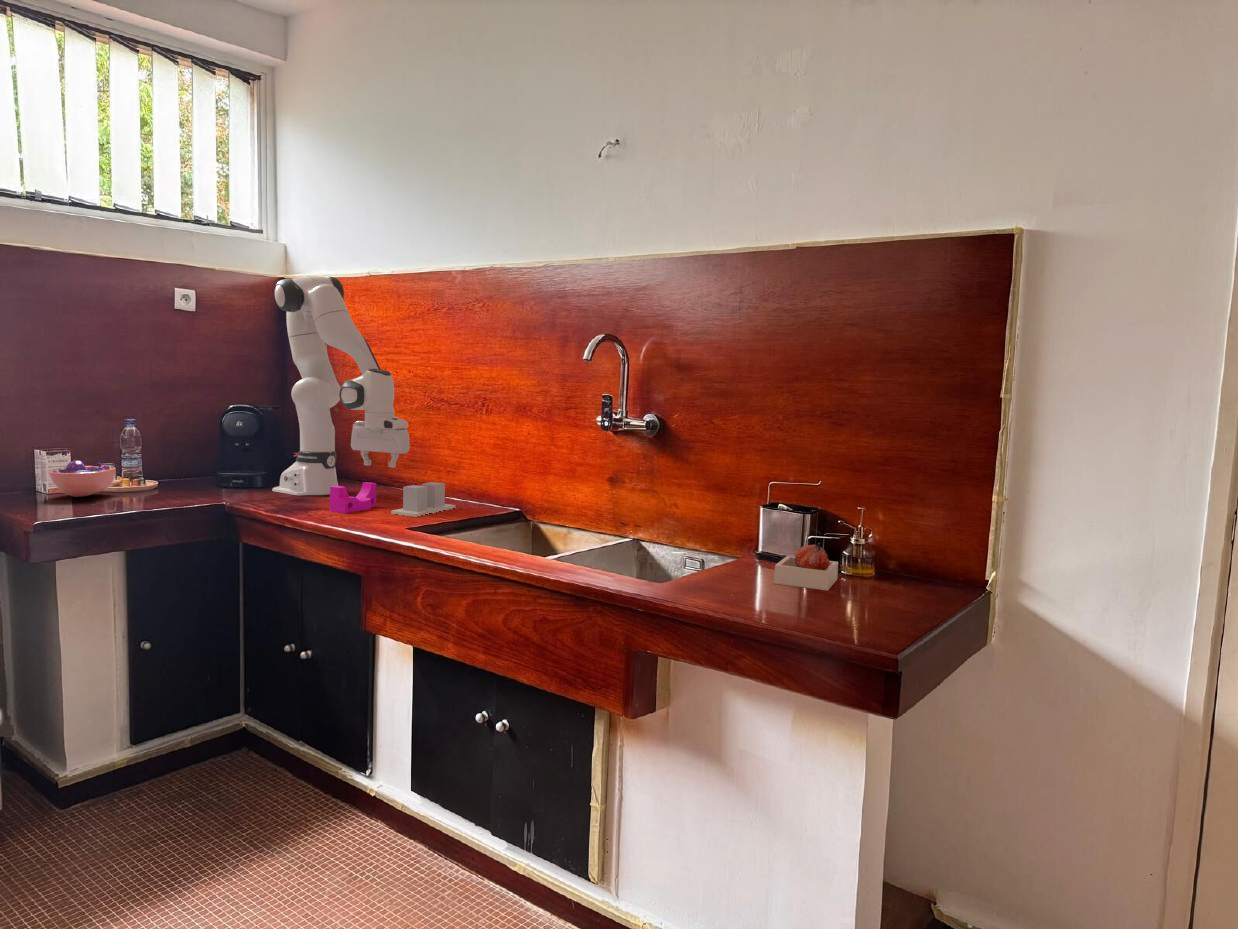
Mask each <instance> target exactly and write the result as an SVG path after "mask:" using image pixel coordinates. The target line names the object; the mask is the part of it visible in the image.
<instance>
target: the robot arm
mask: <svg viewBox="0 0 1238 929" xmlns="http://www.w3.org/2000/svg"><path fill="white" fill-rule="evenodd" d="M343 286H344V285H343V284H342V282H341V281H340V280H339V279H338V278H336V277H333V276H329V275H325V276H315V275H311V276H310V275H309V276H302V277H294V278H290V277H288V278H284V279H281V280H278V281H277V283H276V284H275V286H274V291H273V292H274V294H273V295H274V301H275V303H276V305H277V307H278V308H279V309H280V310H281V311H284V312H286V317H285V318H286V328H287V330H286V331H287V336H288V340H289V341H288V342H289V345H290V346H289V347H290V351H291V355H292V361H293V363H294V365H295V366H296V368H297V370H298V371H299V374H300V376H301V379H299V380H298V381H297V382H296V383H294V385H293V386H292V389H291V394H290V395H291V399H292V401H293V403H294V405H295V410H296V413H297V417H298V418H297V419H298V423H299V424H298V425H299V451H298V452H294V453H293V454H295V455H293V457H296V458H295V462H293V463H292V465H290V466H289V467H288V468H287V469H285V470H284V471H282V473H281V475H280V478H279V486H275V487H272V490H271V491H272V492H276V493H281V494H287V495H291V496H325V495H330V487H332V486H339V483H338V479H337V478H338V476H337V470H336V462H337V451H336V441H335V440H336V437H335V436H336V430H335V429H336V428H335V425H334V424H333V420H332V416H331V410H330V409H332V408H334V406H336V405H337V404H338V403H339V402H341V403H340V404H342V406H343V407H344V408H346V409H347V410H351V411H364V420H357V421H355V422H354V423H353V424H352V430H351V439H350V447H351V449H352V451H359V452H360V456H361V458H362V459H363V465H364V466H368V467H369V466H371V465H372V459H370V456H369V454H370V453H369V452H373V453H376V452H377V453H387V454H390V457H391V460H390V461H388V462H387V463H388V468H394V469H395V468H396V467H397V466H396V465H397V460H398V459H399V457H400V454H401V455H402V454H407V453H408V452H409V451H410V444H411V443H410V433H409V431H408V428H409V422H408V421H407V420H404V419H402V418H399V417H397V416H395V408H394V400H395V382H394V378H393V375H392V373H391V372H390V371H388V370H385V369H381V366H380V364H379V362H378V361H377V358H376V356H375V354H374V353H373V351H372V348H371V347H370V345H369V343H368V340H366V338H365V337H364V336H363V335H362V334H361V332H360V331H359V330H358V328H357V326H356V325H355V324H354V322H353V319H352V317H351V315H350V312H349V309H348V307H347V304H346V303H345V300H344V299H345V289H344V287H343ZM327 345H328V346H329V347H332V348H334V349H337V350H340V351H341V352H344V353H346V354H347V355H349V356H350V357H351V358H352V359H353V360H354V361H355V363H356V365H357V366H358V369H359V371H360V373H361V375H359V376H358V377H354V378H352V379H349V380H345V381H344V382H343V383H342V384H341V386H340V384H339V382H338V380H337V377H336V375H335V372H334V369H333V366H332V364H331V362H330V359H329V356H328V355H329V354H328V349H327Z"/></svg>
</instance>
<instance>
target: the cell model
mask: <svg viewBox="0 0 1238 929" xmlns="http://www.w3.org/2000/svg"><path fill="white" fill-rule="evenodd" d="M97 465H98V466H97ZM97 465H96V466H95V465H85V464H84V463H83V462H82V461H81V460H76V459H75V460H72V461H70V462H68V463H67V465H66V466H63V467H58V468H54V469H51V470H48V476H49V478H50V479H51V482H52V484H54V486H55V487H56V488H57V489H58V490H59V491H60V492H62V493H64V494H66V495H68V496H70V497H76V498H78V497H88V496H91V495H95V494H96V493H100V492H103V491H105V490H106V489H108V488H110V487H112V485H113V483H114V481H115V478H116V467H113V466H109V465H107V464H103V463H102V462H98V464H97Z"/></svg>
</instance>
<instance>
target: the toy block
mask: <svg viewBox="0 0 1238 929" xmlns="http://www.w3.org/2000/svg"><path fill="white" fill-rule="evenodd" d="M347 490H348V489H347V486H342V485H338V486H332V487H330V494H329V512H330V511H331V513H341V514H349V513H354V512H361V510H362V511H368V510H372V508H374V507H375V506H376V507H377V483H376V482H368V481H364V482H362V485H361V489H360V491H359V492H358V493H357V495H356V496H350V495H349V494H348V491H347ZM376 507H375V508H376Z"/></svg>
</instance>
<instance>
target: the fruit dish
mask: <svg viewBox="0 0 1238 929" xmlns="http://www.w3.org/2000/svg"><path fill="white" fill-rule="evenodd" d="M838 572H839V561H833V560H829V567H828V568H827V569H826V570H817V569H809V568H801V567H798V566H796V564H795V556H791V555H786V556H785V557H783V558H782V559H781V560H779V562H777V563H776V564H775V565H774V576H773V584H775V585H782V586H783V585H784V586H790V587H798V588H805V589H813V590H821V591H829V590H830V589H831V588H832V586H833V585H834V584H835V582H837V580H838V574H839V573H838Z"/></svg>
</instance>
